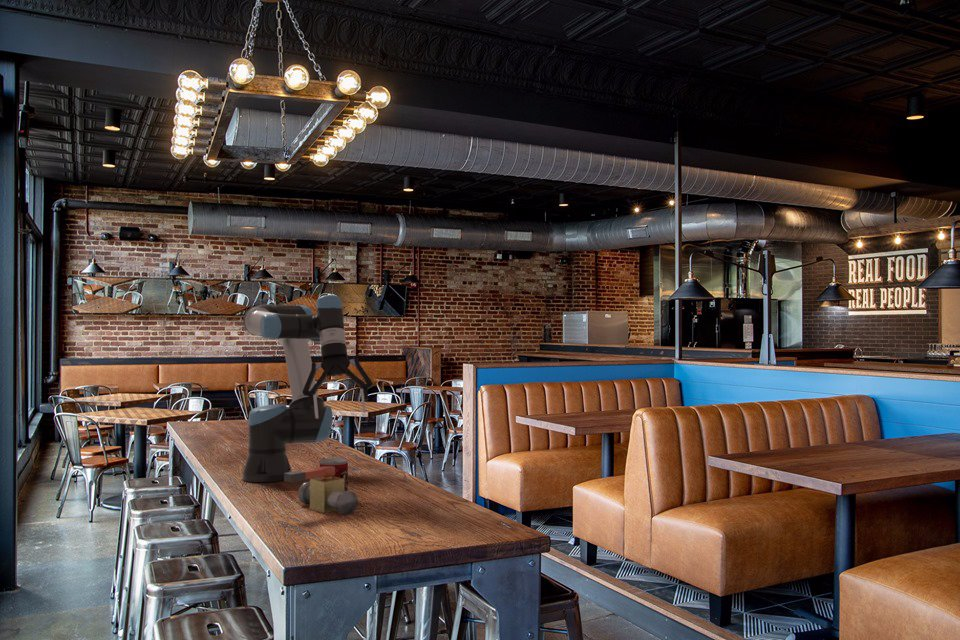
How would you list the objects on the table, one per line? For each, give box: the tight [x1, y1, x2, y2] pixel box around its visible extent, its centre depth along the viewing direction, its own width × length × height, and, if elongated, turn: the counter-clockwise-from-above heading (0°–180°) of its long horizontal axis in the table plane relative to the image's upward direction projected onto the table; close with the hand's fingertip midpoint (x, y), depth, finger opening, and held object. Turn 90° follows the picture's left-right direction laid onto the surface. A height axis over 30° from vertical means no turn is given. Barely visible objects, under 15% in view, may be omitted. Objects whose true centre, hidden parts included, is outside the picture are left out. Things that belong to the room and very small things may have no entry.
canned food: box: [319, 457, 349, 491], centre depth 208 cm, size 8×8×11 cm
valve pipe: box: [297, 476, 359, 516], centre depth 197 cm, size 18×6×9 cm, turn 47°
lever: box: [283, 466, 335, 484], centre depth 193 cm, size 14×4×2 cm, turn 137°
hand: (340, 414), depth 215 cm, fingers open, 13 cm apart
